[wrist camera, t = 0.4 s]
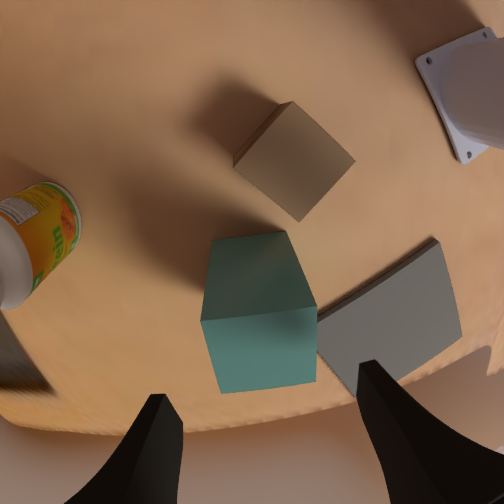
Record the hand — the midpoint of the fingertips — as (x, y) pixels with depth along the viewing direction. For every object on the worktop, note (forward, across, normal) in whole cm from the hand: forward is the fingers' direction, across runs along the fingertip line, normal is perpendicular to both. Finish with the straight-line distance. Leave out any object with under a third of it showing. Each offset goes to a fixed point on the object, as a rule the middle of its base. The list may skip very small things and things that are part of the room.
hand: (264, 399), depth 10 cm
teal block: (+10, 0, 0) cm, 10 cm away
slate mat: (+10, -11, +8) cm, 17 cm away
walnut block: (+10, -3, -7) cm, 13 cm away
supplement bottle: (+10, +13, -6) cm, 18 cm away
